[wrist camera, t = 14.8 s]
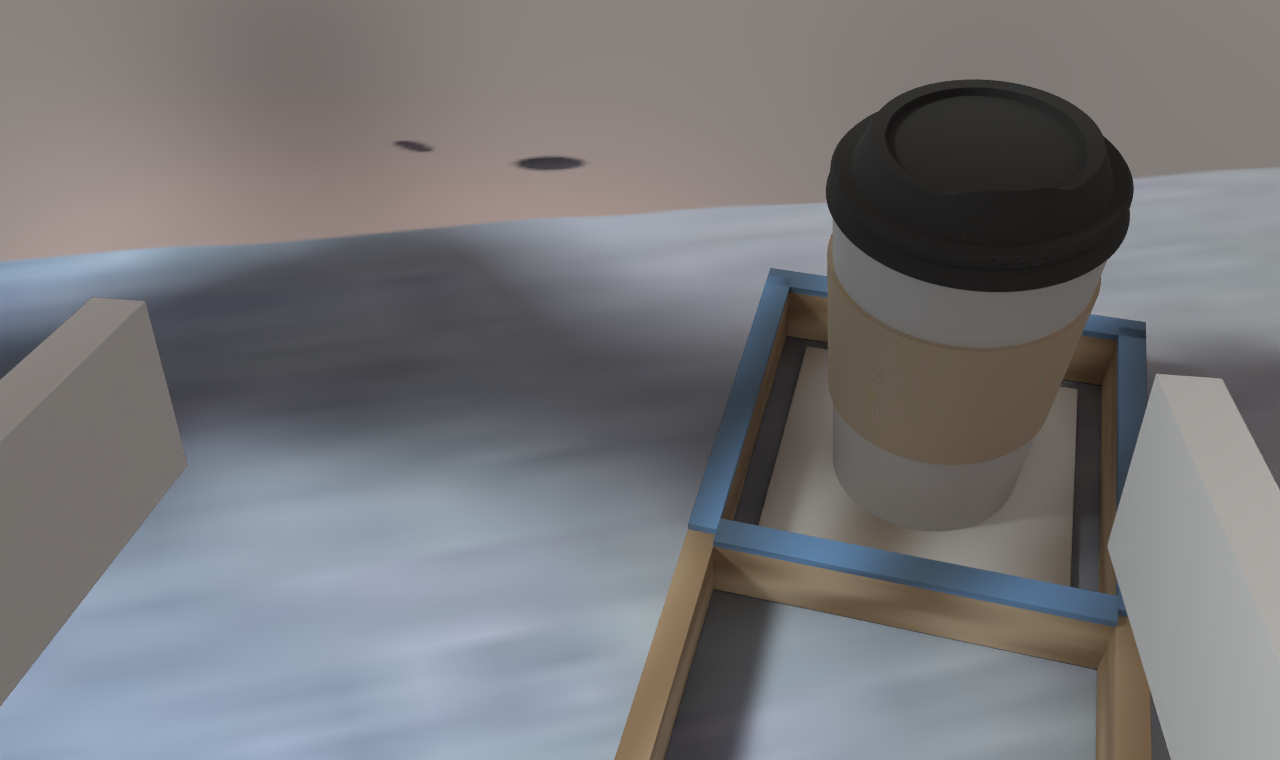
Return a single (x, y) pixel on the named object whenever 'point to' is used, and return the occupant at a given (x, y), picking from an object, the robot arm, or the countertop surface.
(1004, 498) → the coffee cup
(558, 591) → the countertop surface
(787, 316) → the oak rack
